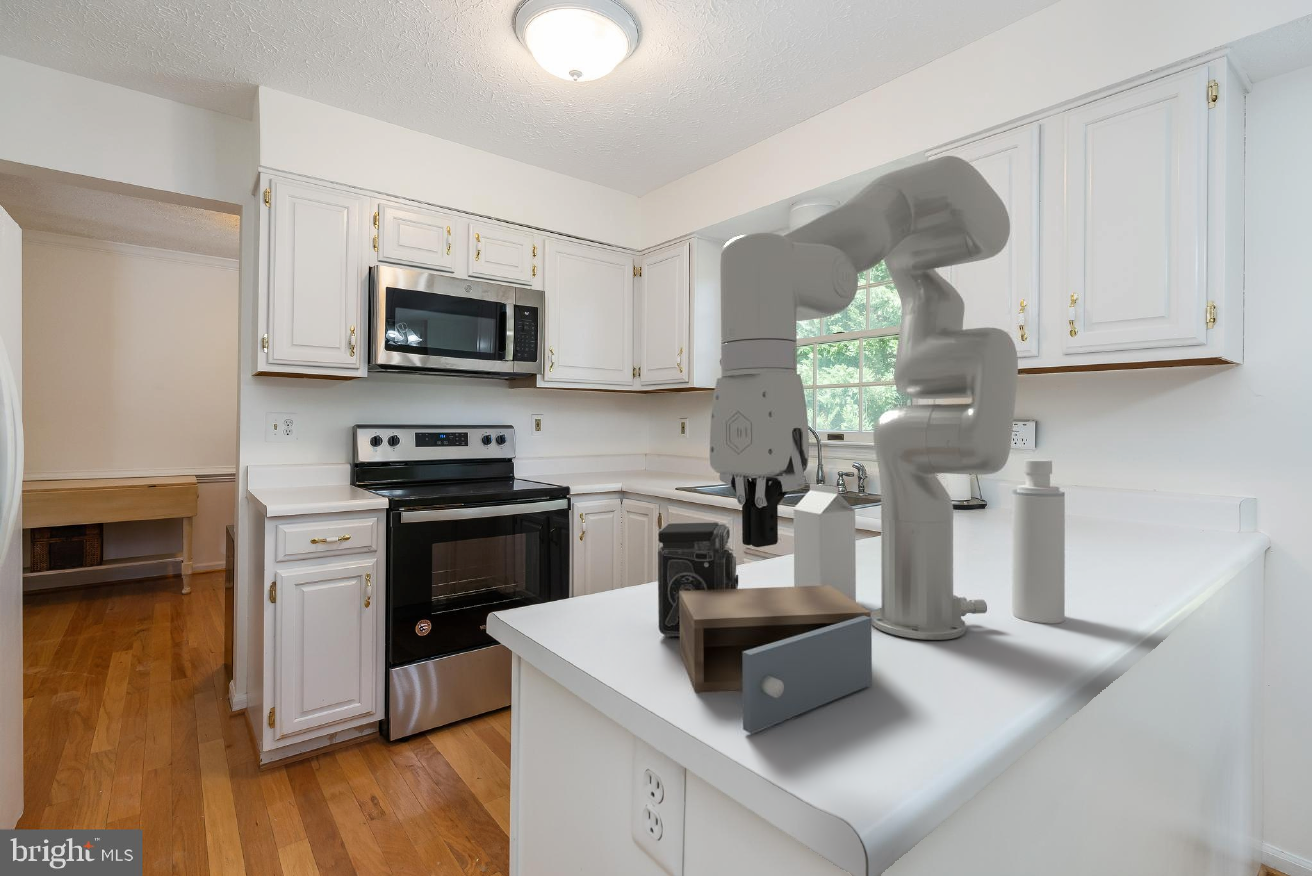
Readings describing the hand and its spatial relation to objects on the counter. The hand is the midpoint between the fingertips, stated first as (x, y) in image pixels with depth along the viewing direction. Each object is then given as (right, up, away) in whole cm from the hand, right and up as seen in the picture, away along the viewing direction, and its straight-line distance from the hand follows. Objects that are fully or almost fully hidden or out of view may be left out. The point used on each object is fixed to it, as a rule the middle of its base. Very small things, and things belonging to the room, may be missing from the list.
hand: (760, 543), depth 64 cm
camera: (-4, -17, +25) cm, 31 cm away
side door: (+6, -17, 0) cm, 18 cm away
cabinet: (+3, -17, +12) cm, 21 cm away
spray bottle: (+46, -16, +30) cm, 58 cm away
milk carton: (+17, -16, +41) cm, 47 cm away
